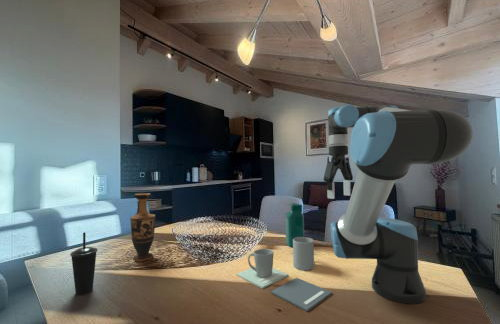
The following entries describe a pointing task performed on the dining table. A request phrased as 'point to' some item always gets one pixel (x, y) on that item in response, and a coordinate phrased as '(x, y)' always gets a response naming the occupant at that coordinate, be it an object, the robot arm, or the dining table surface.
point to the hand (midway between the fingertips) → (339, 196)
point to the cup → (262, 262)
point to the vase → (142, 229)
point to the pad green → (261, 281)
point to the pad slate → (301, 293)
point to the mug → (303, 253)
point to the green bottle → (294, 223)
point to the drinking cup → (83, 268)
